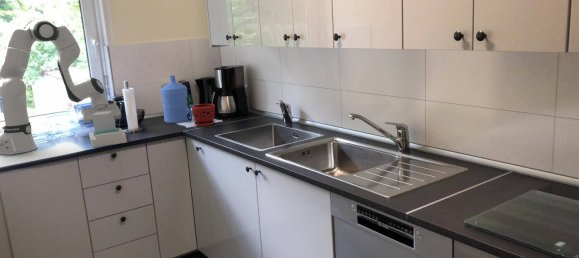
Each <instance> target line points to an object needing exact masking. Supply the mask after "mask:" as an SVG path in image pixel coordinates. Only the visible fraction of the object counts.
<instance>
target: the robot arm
mask: <svg viewBox="0 0 579 258" xmlns="http://www.w3.org/2000/svg"><path fill="white" fill-rule="evenodd" d="M9 35H10V36H9V37H8V38H9V39H7V40H8V41H7V44H6V48H5V53H4V58H3V63H2V65H1V68H0V95H1V96H2V114H3V117H4V119H3V120H4V123H5V125H4V126H2V127H1V130H3V133H2V134H1V135H0V155H3V156H4V155H6V156H12V155H16V154H17V155H18V154H22V153H27V152H31V151H34V150H36V149H38V146H37V144H36V141H35V140H34V136H33V133H32V125H31V124H32V123H31V122H30V119H29V114H28V107H27V87H26V86H27V85H26V84H25V82H24V81H23V80H24V79H23V78H24V75H25V73H26V71H27V69H28V66H29V61H30V57H31V52H32V47H33V45H34V43H35V42H39V43H41V42H43V43H44V42H51V43H52V45H54V47H55V49H56V52H57V54H58V59H57V61H56V62H57V68H58V70H59V74H60V76H61V79H62V82H63V84H64V87H65V89H66V90H65V91H66V94H67V97H68V99H69V100H70V101H71V102H74V103H80V102H82V101H83V100H86V99H88V98H89V99H90V106H91V107H84V108H82V109H81V111H80V112H81V115H82V120H83V123H85V124H91V123H93V118H92V115H93V114H95V113H96V112H103V111H113V113H114V120H119V119H121V118H122V112H121V110H120V107H119V106H118V105H117V101H116V100H109V99H107V97H106V96H107V95H106V90H105V88H104V85H103V83H102V82H101V81H100V80H99V79H97V78H95V77H89V78H87V79H84V80H82V81H80V82H76V83H74V82H73V79H72V76H71V74H70V69H69V68H70V67H71V66H72V64H74V63H75V61H76V60H77V59H78V58H79V57H80V55H81V49H80V46H79V44H78V42H77V40H76V38H75V37H74V35H73V34H72V33H71V31H70V29H69V28H68V27H67V26H66V25H63V24H62V25H61V24H59V25H54V24H53V23H52V22H50V21H48V20H43V19H36V20H31V21H30V22H28V23H27V24H26V25H25V26H24V27H23V28H20V27H19V28H15V29H12V31H11V33H10V34H9Z"/></svg>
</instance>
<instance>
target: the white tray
mask: <svg viewBox="0 0 579 258" xmlns="http://www.w3.org/2000/svg"><path fill="white" fill-rule="evenodd" d="M118 128H119V127H118ZM88 135H89V140H90V141H89V142H90V143H91V146H92V148H98V147H106V146H112V145H119V144H125V143H128V141H127V134H126V133H125V132H124V130H123V129H122V128H119V132H112V133H105V134H99V135H95V133H94V132H92V131H91V132H89V134H88Z"/></svg>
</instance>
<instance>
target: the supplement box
mask: <svg viewBox="0 0 579 258" xmlns="http://www.w3.org/2000/svg"><path fill="white" fill-rule="evenodd" d="M92 118H93V122H92V123H93V128H94V129H93V130H94V132H95V131H100V130H107V129H114V128H117V127H116V121H115V120H116V119H114V113H113V111H103V112H96V113H95V114H93V115H92ZM95 135H96V134H95V133H94V136H95Z"/></svg>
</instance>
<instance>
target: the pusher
mask: <svg viewBox="0 0 579 258" xmlns="http://www.w3.org/2000/svg"><path fill="white" fill-rule="evenodd" d="M112 132H119V127H116V128H114V129H107V130H100V131H95V130H94V135H95V134H96V135H99V134H105V133H112Z"/></svg>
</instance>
